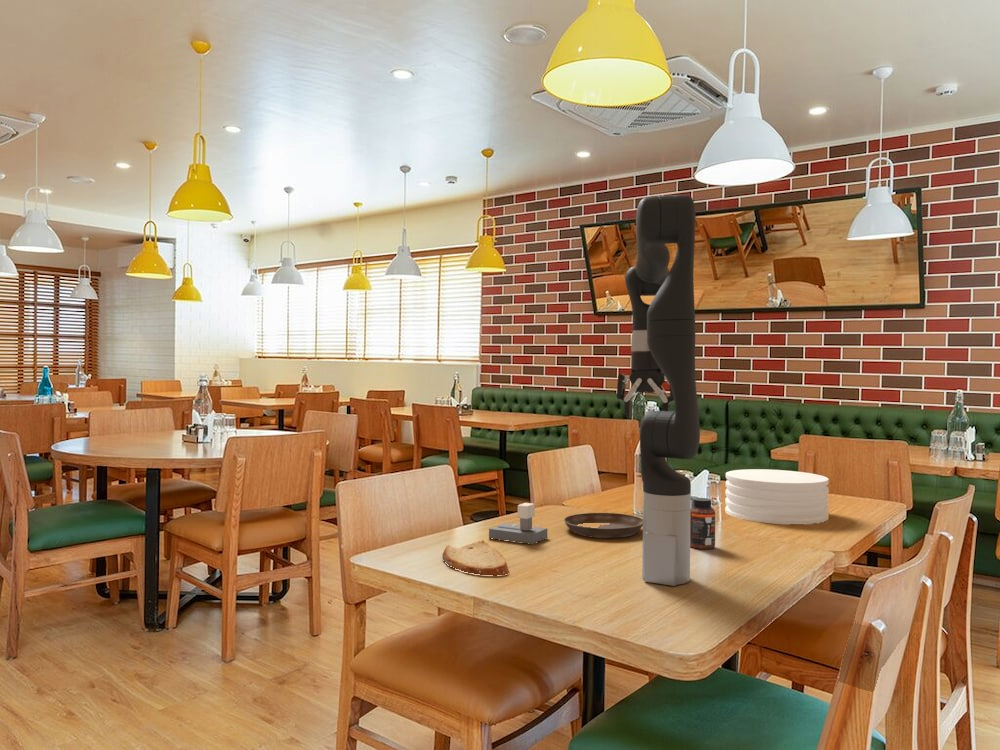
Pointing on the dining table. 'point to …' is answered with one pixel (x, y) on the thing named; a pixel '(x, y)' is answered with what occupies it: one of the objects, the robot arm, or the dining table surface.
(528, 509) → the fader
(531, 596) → the dining table surface
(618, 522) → the plant saucer
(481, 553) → the bread slice
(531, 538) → the console panel
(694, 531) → the supplement bottle
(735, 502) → the plate stack
